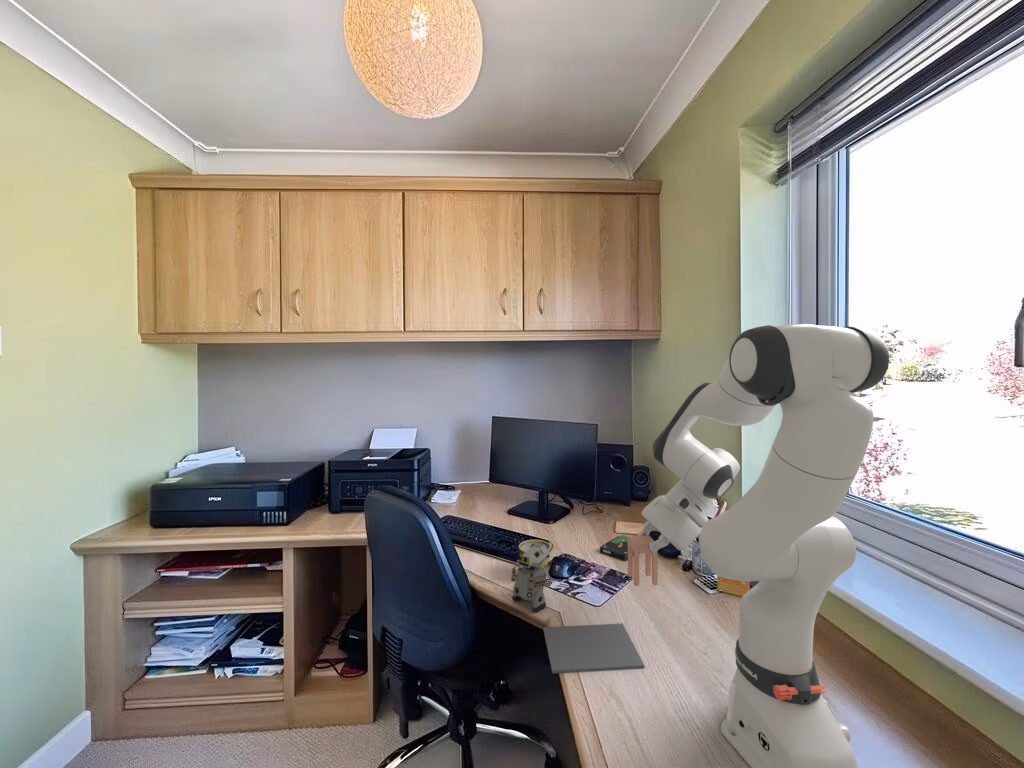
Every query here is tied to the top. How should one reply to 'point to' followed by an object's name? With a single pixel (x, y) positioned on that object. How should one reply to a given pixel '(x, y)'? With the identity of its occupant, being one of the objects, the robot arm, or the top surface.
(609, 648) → the charcoal mat
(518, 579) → the figurine
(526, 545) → the ceramic cup
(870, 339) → the robot arm
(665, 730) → the top surface
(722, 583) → the small box
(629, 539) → the miniature stool
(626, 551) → the disk drive
